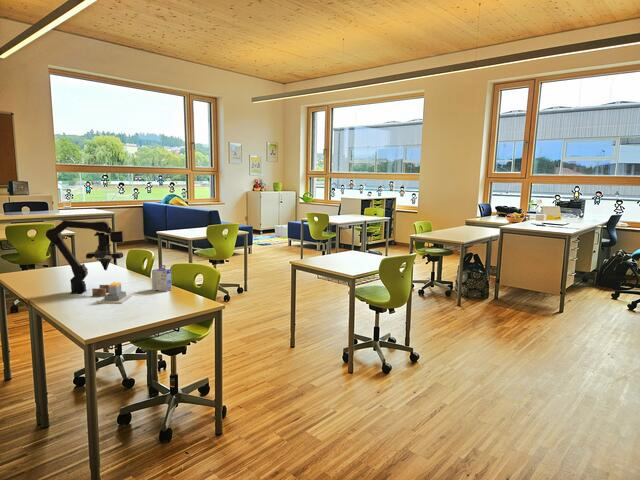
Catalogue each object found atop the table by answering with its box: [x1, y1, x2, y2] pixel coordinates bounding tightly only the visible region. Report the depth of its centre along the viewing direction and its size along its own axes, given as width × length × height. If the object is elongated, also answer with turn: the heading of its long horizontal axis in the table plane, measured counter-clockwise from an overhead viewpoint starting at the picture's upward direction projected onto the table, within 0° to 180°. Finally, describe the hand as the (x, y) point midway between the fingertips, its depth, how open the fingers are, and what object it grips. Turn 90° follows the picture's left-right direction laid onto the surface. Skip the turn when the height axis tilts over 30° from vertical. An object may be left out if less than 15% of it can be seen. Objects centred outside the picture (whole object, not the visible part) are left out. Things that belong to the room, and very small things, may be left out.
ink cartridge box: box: [151, 264, 173, 292], centre depth 256 cm, size 10×6×14 cm, turn 78°
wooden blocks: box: [91, 284, 110, 297], centre depth 247 cm, size 7×10×4 cm
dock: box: [97, 291, 133, 305], centre depth 235 cm, size 12×14×3 cm
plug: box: [108, 281, 123, 296], centre depth 235 cm, size 4×6×8 cm, turn 2°
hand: (105, 270), depth 252 cm, fingers closed
